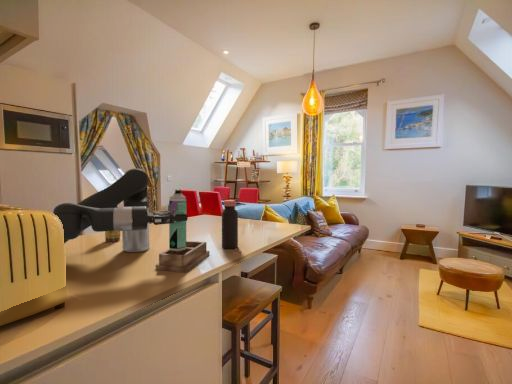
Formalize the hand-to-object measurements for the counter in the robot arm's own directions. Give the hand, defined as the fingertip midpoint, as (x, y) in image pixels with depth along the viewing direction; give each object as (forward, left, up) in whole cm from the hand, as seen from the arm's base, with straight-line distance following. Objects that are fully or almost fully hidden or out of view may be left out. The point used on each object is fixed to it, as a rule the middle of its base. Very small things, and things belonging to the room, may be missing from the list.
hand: (185, 216), depth 89 cm
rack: (-2, +3, -17) cm, 17 cm away
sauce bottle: (-48, +23, -17) cm, 56 cm away
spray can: (-2, -2, -11) cm, 11 cm away
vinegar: (+8, +25, -17) cm, 31 cm away
